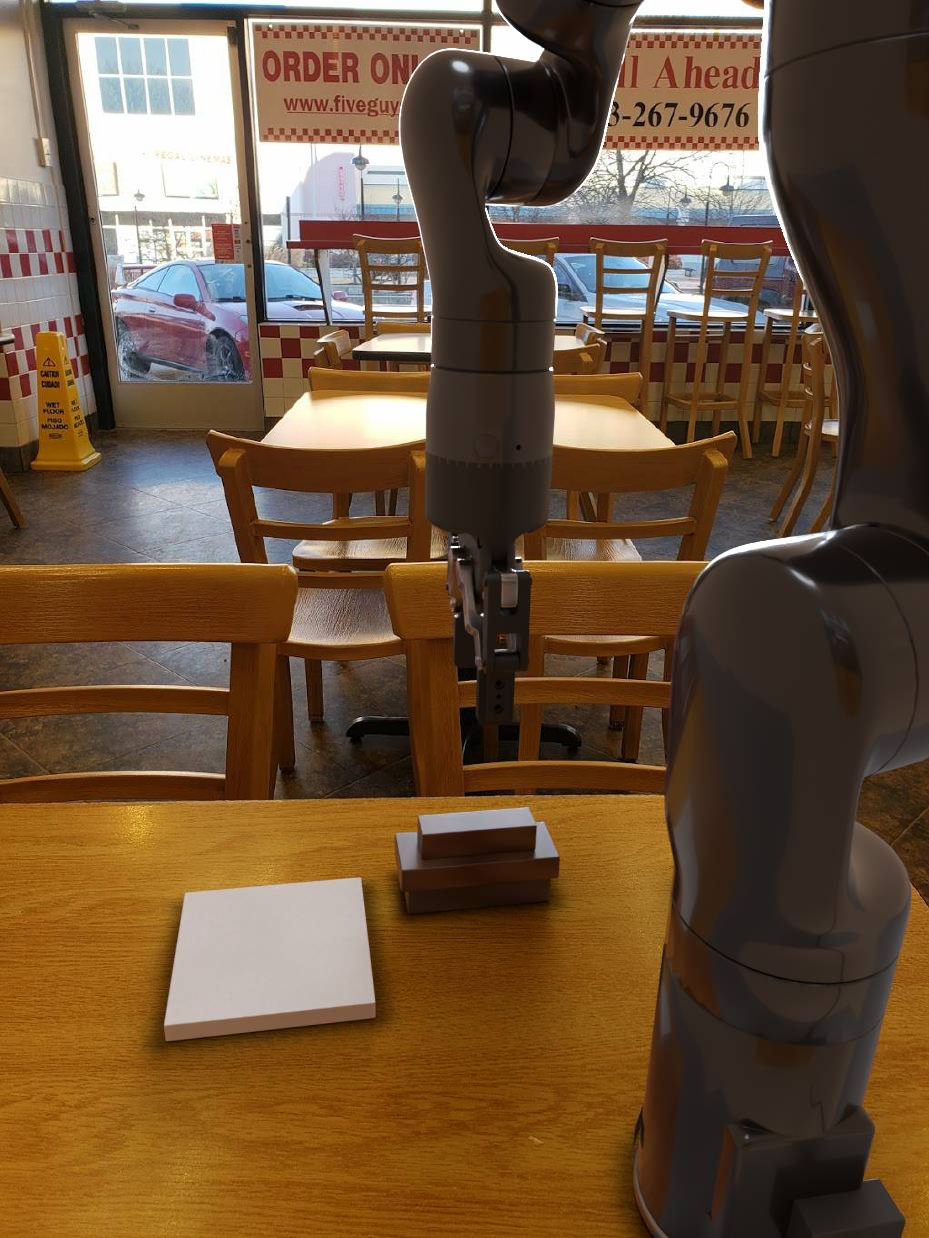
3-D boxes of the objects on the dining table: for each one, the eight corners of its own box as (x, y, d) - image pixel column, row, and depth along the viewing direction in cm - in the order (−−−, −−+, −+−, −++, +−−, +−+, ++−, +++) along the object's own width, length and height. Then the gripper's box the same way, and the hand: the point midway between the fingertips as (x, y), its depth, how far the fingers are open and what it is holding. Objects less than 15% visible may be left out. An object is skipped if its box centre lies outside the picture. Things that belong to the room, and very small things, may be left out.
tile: (375, 1018, 56) (375, 1002, 55) (165, 1041, 54) (163, 1025, 53) (361, 890, 67) (360, 876, 66) (186, 906, 65) (184, 892, 64)
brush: (541, 864, 70) (546, 797, 68) (557, 902, 66) (562, 832, 64) (394, 877, 68) (394, 809, 66) (401, 917, 64) (401, 845, 62)
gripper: (585, 470, 50) (565, 741, 55) (523, 423, 63) (512, 647, 69) (445, 472, 48) (440, 749, 54) (411, 424, 61) (410, 651, 67)
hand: (480, 692), depth 61 cm, fingers open, 8 cm apart
